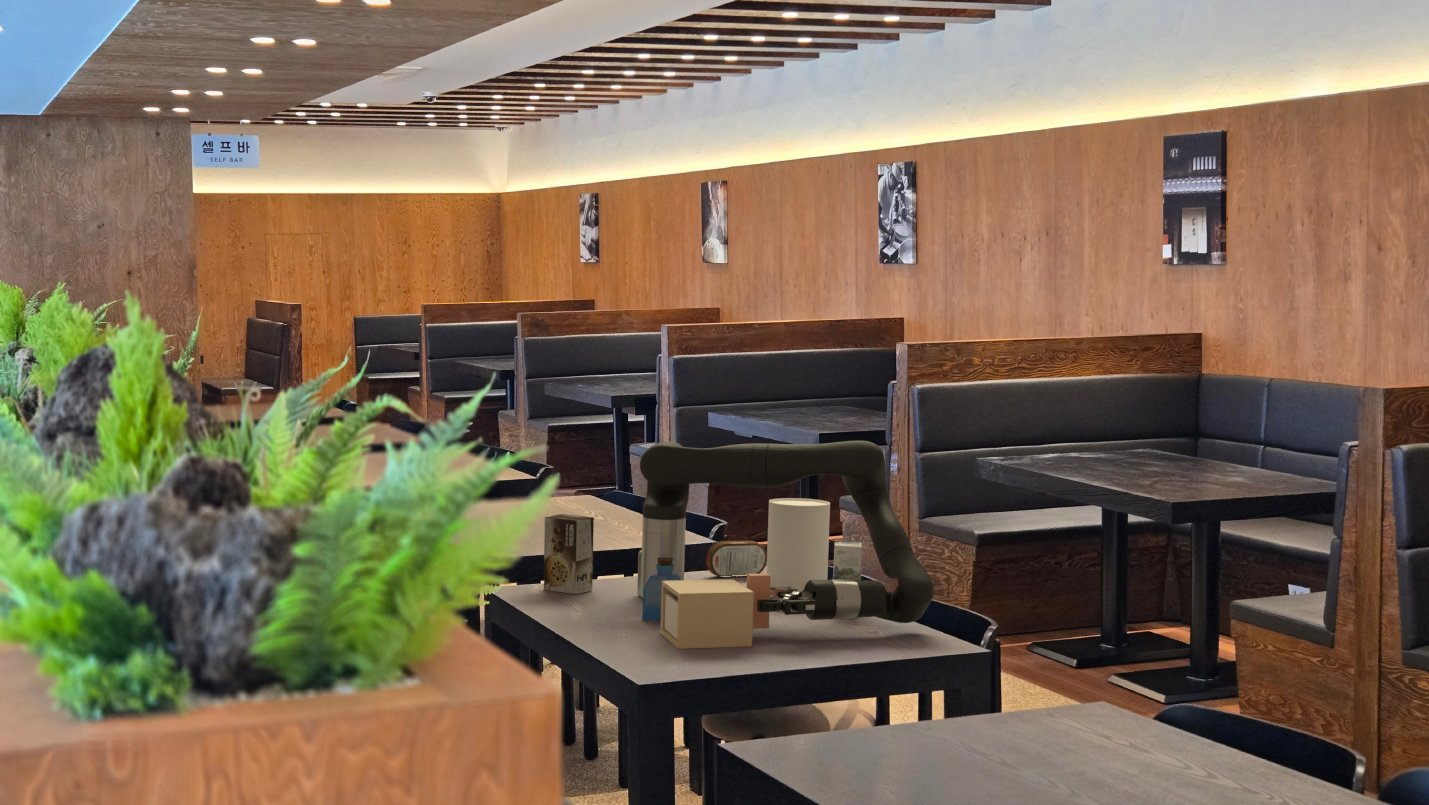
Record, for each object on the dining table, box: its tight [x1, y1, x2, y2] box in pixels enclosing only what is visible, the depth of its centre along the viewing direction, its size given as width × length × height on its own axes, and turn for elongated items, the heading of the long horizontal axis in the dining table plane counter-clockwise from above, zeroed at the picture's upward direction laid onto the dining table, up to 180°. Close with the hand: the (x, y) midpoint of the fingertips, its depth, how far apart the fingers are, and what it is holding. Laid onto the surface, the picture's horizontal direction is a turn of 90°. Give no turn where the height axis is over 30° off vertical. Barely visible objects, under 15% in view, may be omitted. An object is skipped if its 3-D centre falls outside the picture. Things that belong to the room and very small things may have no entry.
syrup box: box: [832, 541, 863, 581], centre depth 295 cm, size 6×6×14 cm
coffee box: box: [543, 513, 595, 595], centre depth 310 cm, size 9×6×16 cm
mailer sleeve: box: [659, 578, 754, 650], centre depth 265 cm, size 14×13×10 cm
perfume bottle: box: [641, 557, 681, 623], centre depth 283 cm, size 6×6×12 cm
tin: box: [705, 540, 767, 577], centre depth 334 cm, size 15×3×8 cm, turn 114°
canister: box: [766, 497, 831, 591], centre depth 317 cm, size 14×14×20 cm
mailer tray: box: [665, 573, 771, 639], centre depth 265 cm, size 18×11×11 cm, turn 106°
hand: (750, 601), depth 267 cm, fingers open, 8 cm apart
